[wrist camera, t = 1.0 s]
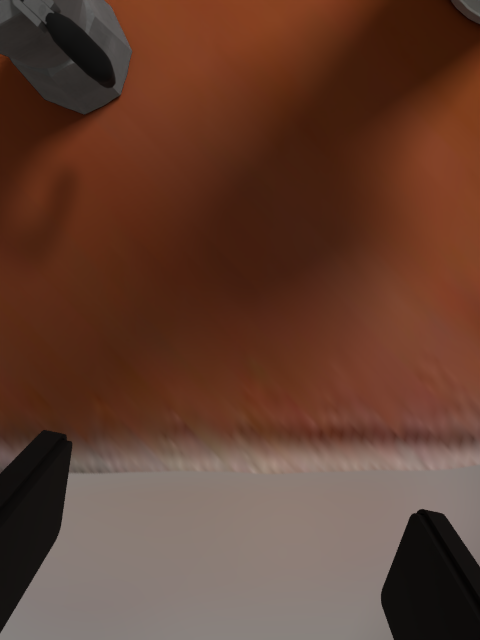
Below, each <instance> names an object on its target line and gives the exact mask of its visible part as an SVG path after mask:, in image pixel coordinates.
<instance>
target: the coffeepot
mask: <svg viewBox="0 0 480 640" xmlns="http://www.w3.org/2000/svg"><path fill="white" fill-rule="evenodd" d="M131 53H132V50H131V48H130V46H129V43H128V41H127V39H126V37H125V35H124V33H123V31H122V29H121V27H120V24H119V22H118V20H117V18H116V16H115V14H114V12H113V10H112V8H111V6H110V5H109V4H107V3H106V2H105V1H104V0H0V54H2V55H5V56H7V57H9V58H10V60H11V61H12V63H13V64H14V65H15V66H16V67H17V68H18V70H19V71H20V72H21V73H22V74H23V75H24V76H25V78H26V79H27V80H28V81H29V82H30V83H31V84H32V86H33V87H34V88H35V89H36V90H37V91H38V92H39V94H40V95H41V96H42V97H43V98H44V99H45V100H47V101H50V102H53V103H55V104H58V105H60V106H63V107H65V108H68V109H71V110H74V111H76V112H79V113H82V114H84V115H85V114H87V113H89V112H91V111H93V110H95V109H97V108H100V107H102V106H104V105H106V104H107V103H109V102H110V101H111V100H113V99H114V98H116V97H118V96H120V95H121V92H122V88H123V85H124V82H125V79H126V77H127V73H128V67H129V61H130V57H131Z"/></svg>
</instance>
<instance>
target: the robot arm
mask: <svg viewBox="0 0 480 640" xmlns="http://www.w3.org/2000/svg"><path fill="white" fill-rule="evenodd" d="M451 2H452V3H453V4H454V6H455V7H456V8H457V9H458V10H459V11H460V12H461V13H462V14H464V15H465V16H466V17H467V18H468V19H470V20H472V21H474V22H476V23H478V24H480V0H451ZM71 451H72V442H71V441H67V437H66V435H65V434H61V433H57V432H52V431H47V430H43V431H42V432H41V433H40V434H39V435H38V436H37V437H36V438H35V439H34V440H33V441H32V442H31V443H30V444H29V445H28V446H27V447H26V448H25V449H24V450H23V451H22V452H21V453H20V454H19V455H18V456H17V457H16V458H15V459H14V460H13V461H12V462H11V463H10V464H9V465H8V466H7V467H6V468H5V469H4V470H3V471H2V473H1V474H0V633H1V631H2V629H3V627H4V626H5V624H6V623H7V621H8V619H9V618H10V616H11V614H12V613H13V611H14V609H15V608H16V606H17V604H18V602H19V601H20V599H21V598H22V596H23V594H24V593H25V591H26V589H27V588H28V586H29V584H30V583H31V581H32V579H33V578H34V576H35V574H36V572H37V571H38V569H39V568H40V566H41V564H42V562H43V561H44V559H45V557H46V556H47V554H48V552H49V551H50V549H51V547H52V546H53V544H54V542H55V541H56V539H57V536H58V533H59V531H60V527H61V522H62V514H63V508H64V501H65V493H66V486H67V479H68V472H69V465H70V458H71ZM381 603H382V607H383V610H384V613H385V616H386V619H387V621H388V624H389V627H390V630H391V633H392V635H393V638H394V640H480V567H479V565H478V564H477V562H476V561H475V559H474V558H473V556H472V555H471V553H470V552H469V550H468V549H467V547H466V546H465V544H464V543H463V542H462V540H461V538H460V537H459V535H458V534H457V532H456V531H455V530H454V528H453V527H452V525H451V524H450V522H449V521H448V519H447V518H446V516H445V515H444V514H442V513H438V512H433V511H428V510H424V509H421V510H419V511H417V513H414V514H412V515H411V516H410V518H409V521H408V524H407V526H406V529H405V532H404V534H403V537H402V539H401V542H400V544H399V547H398V550H397V552H396V555H395V557H394V560H393V563H392V565H391V568H390V570H389V573H388V575H387V578H386V581H385V583H384V586H383V589H382V592H381Z"/></svg>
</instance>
